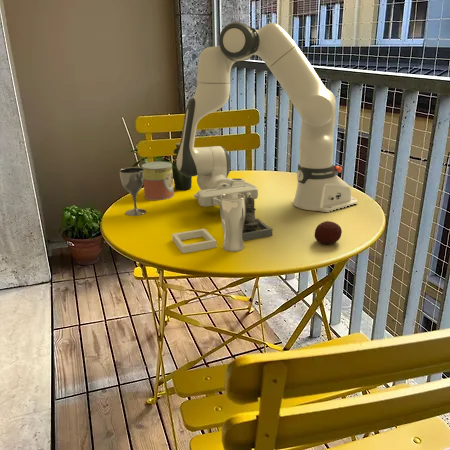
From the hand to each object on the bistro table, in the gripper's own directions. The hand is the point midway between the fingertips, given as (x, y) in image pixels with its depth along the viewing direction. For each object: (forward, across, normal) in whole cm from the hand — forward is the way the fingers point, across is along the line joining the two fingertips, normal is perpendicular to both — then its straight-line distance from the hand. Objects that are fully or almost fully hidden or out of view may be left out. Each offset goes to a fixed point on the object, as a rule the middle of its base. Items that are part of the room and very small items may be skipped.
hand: (236, 202), depth 143 cm
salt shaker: (+10, 0, +7) cm, 12 cm away
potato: (+26, +17, +7) cm, 32 cm away
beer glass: (+18, -9, +7) cm, 21 cm away
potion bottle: (-43, -5, +7) cm, 44 cm away
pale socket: (+11, -18, +7) cm, 22 cm away
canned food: (-38, -16, +7) cm, 42 cm away
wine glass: (-23, -28, +7) cm, 37 cm away
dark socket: (+10, 0, +7) cm, 12 cm away
